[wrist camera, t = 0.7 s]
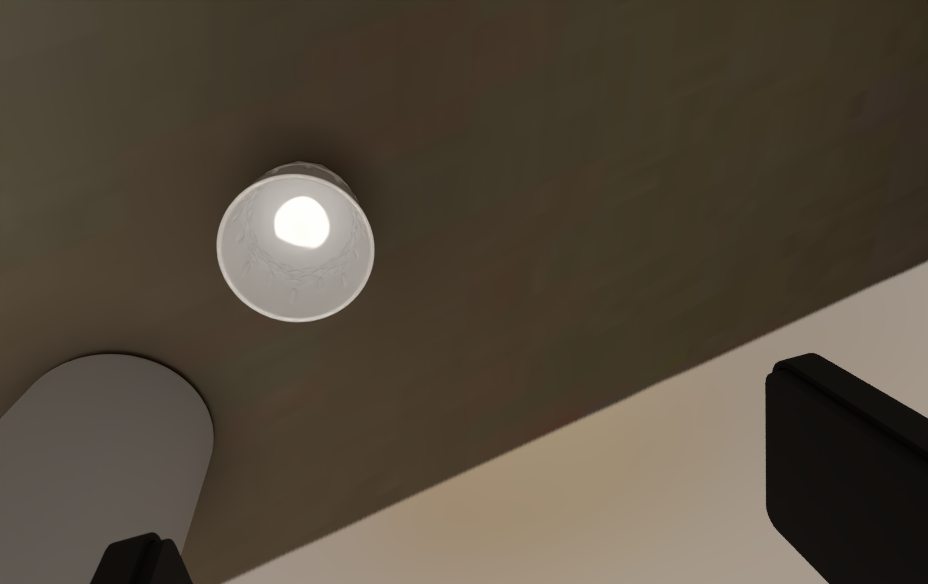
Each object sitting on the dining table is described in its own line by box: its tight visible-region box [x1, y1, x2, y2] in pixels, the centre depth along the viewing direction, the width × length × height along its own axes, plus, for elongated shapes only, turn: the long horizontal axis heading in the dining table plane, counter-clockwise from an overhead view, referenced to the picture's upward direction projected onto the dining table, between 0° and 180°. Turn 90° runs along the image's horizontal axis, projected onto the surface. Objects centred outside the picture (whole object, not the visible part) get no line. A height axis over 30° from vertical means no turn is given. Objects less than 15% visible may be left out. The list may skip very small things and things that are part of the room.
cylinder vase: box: [0, 354, 214, 584], centre depth 33 cm, size 12×12×25 cm
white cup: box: [217, 161, 374, 322], centre depth 38 cm, size 8×8×10 cm
